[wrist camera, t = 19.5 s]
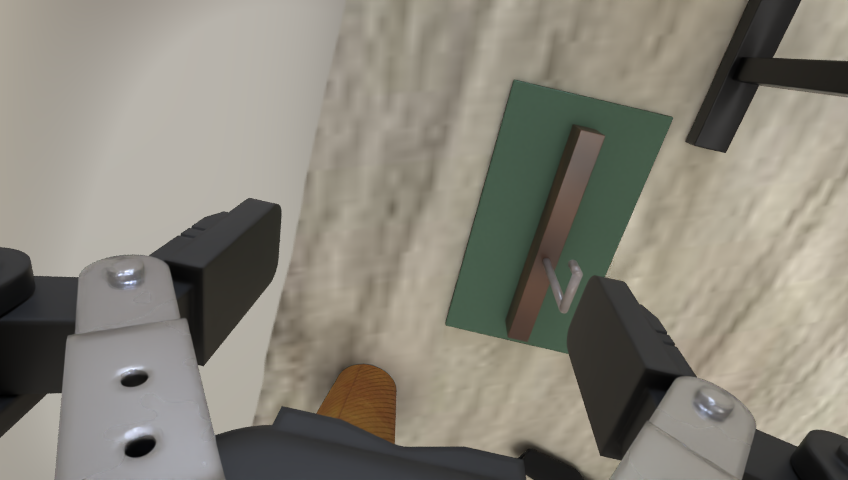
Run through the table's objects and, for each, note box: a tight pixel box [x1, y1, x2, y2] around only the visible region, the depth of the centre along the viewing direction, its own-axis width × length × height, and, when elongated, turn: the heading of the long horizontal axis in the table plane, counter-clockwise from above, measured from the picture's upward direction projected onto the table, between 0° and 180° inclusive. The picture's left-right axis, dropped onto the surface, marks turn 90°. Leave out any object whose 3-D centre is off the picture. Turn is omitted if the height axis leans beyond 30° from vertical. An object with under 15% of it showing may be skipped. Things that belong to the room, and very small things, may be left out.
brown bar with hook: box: [505, 124, 605, 342], centre depth 33 cm, size 18×2×10 cm, turn 168°
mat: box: [446, 80, 673, 354], centre depth 38 cm, size 22×12×1 cm, turn 168°
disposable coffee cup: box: [316, 364, 396, 444], centre depth 41 cm, size 10×10×12 cm
